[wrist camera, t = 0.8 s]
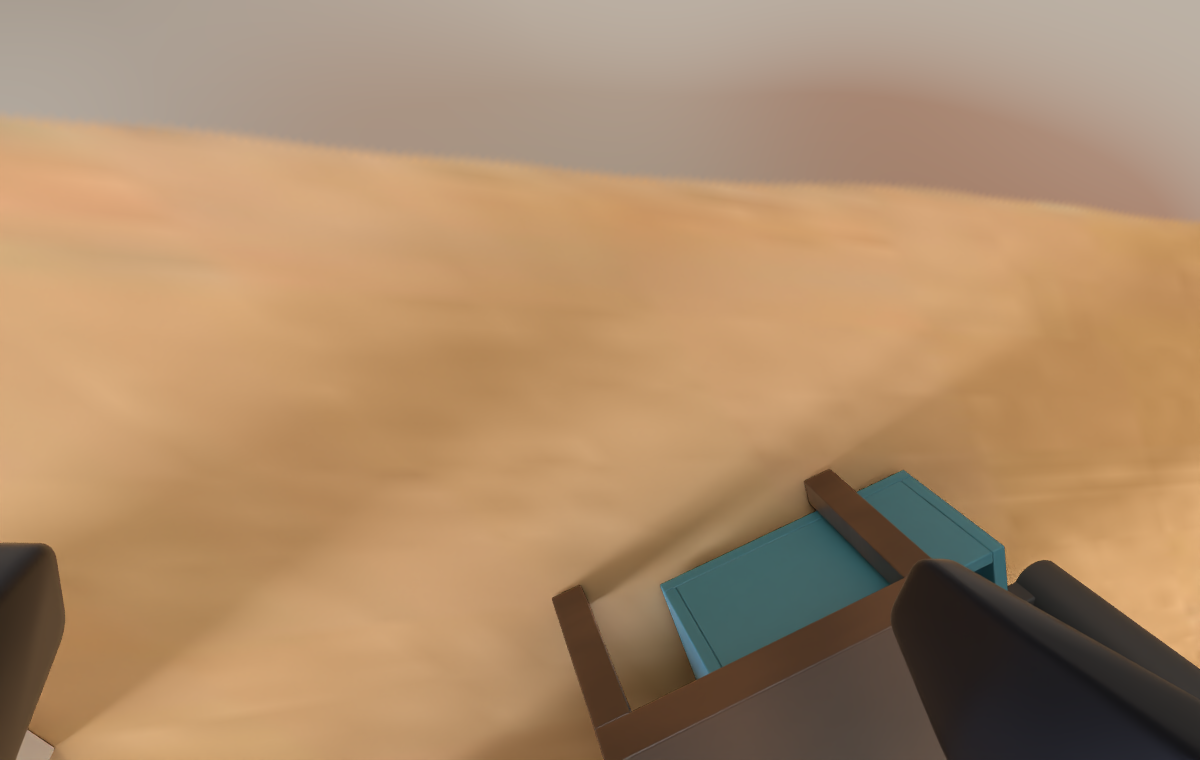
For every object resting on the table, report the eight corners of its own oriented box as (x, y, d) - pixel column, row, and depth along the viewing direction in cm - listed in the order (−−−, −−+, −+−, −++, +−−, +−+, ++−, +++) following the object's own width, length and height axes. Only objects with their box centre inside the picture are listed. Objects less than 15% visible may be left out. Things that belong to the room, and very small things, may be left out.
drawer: (714, 728, 32) (870, 1035, 22) (659, 584, 28) (819, 877, 18) (991, 590, 34) (1257, 815, 24) (976, 434, 30) (1291, 625, 20)
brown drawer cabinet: (641, 785, 33) (709, 971, 26) (550, 596, 27) (607, 768, 20) (872, 669, 34) (993, 817, 27) (829, 467, 29) (968, 588, 22)
